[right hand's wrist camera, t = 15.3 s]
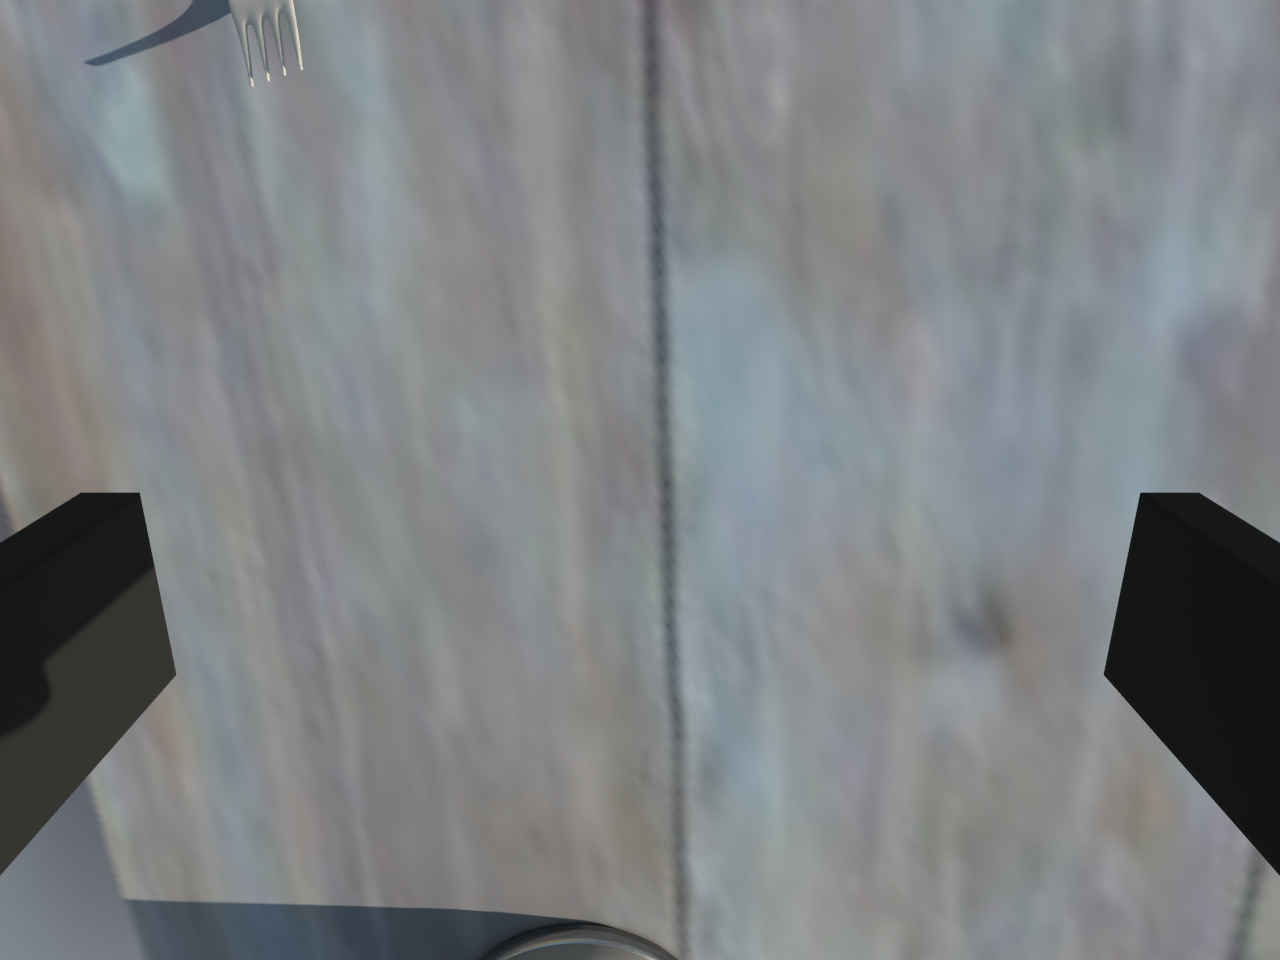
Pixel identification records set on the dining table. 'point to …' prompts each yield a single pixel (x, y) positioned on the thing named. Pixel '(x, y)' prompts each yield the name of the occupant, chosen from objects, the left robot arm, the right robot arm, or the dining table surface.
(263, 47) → the fork
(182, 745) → the dining table surface
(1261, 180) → the dining table surface
